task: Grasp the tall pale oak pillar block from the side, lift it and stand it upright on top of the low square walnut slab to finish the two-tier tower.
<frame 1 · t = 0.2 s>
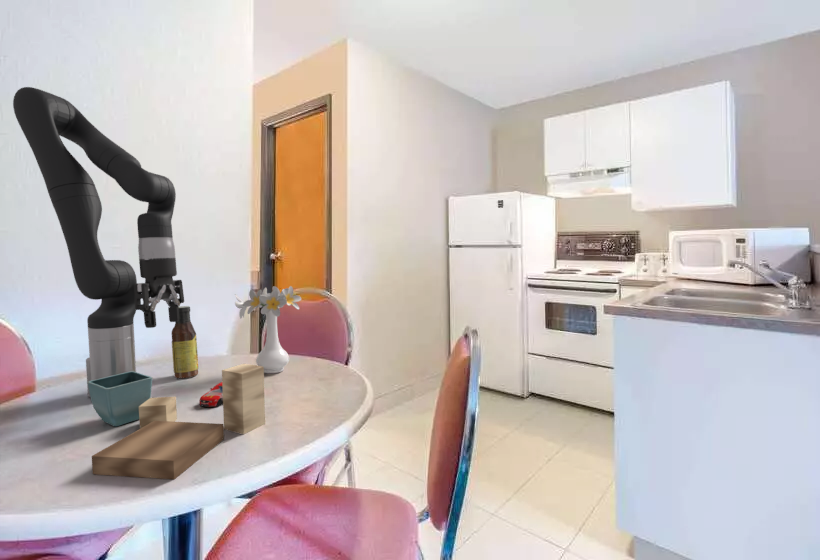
hand: (163, 324, 102), 18 cm above the table, tool pointing down, fingers open, 8 cm apart
walnut slab: (163, 455, 73), on the table
flower vase: (270, 372, 124), on the table
sauce bottle: (186, 376, 120), on the table
oak pillar: (244, 426, 85), on the table
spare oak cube: (159, 425, 87), on the table
flower pot: (122, 421, 89), on the table
race car: (224, 400, 102), on the table
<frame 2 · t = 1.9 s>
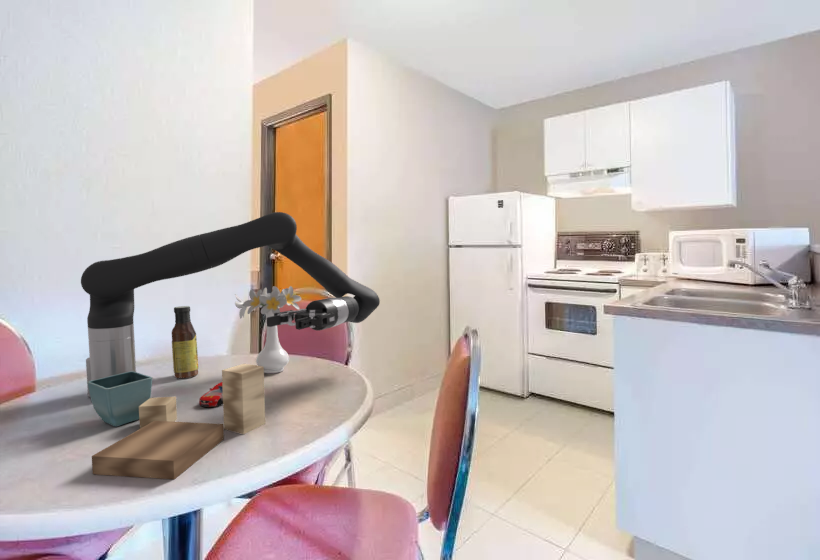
hand: (282, 323, 94), 19 cm above the table, tool horizontal, fingers open, 8 cm apart
nothing on the table moved.
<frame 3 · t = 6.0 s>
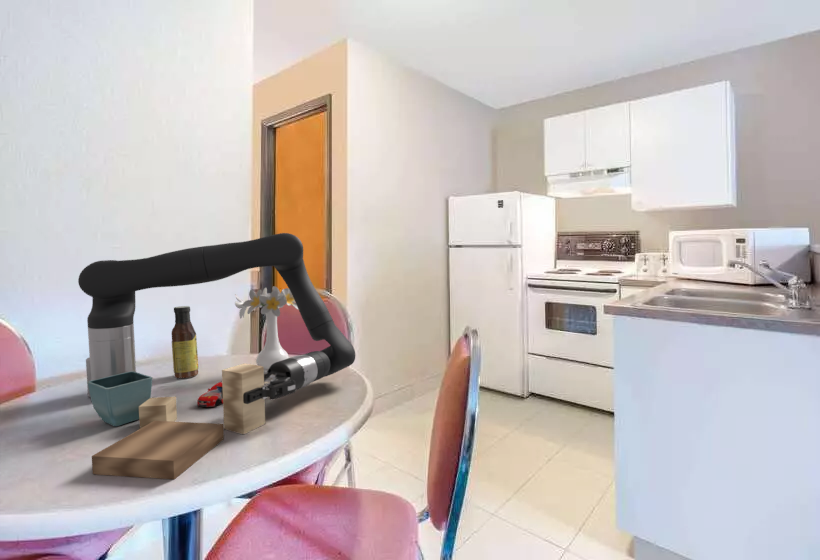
hand: (233, 396, 83), 7 cm above the table, tool horizontal, fingers closed on oak pillar, 5 cm apart
oak pillar: (244, 426, 85), on the table, touching gripper
everything else where it was.
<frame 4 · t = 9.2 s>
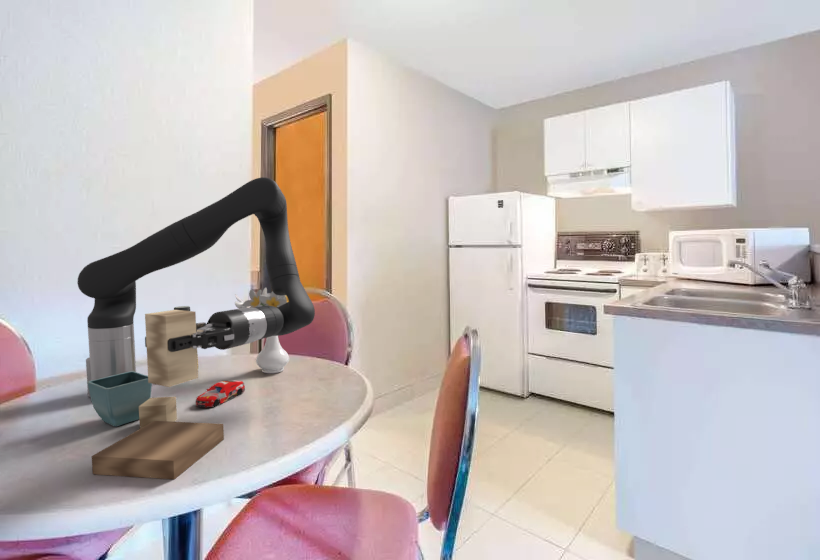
hand: (157, 343, 72), 20 cm above the table, tool horizontal, fingers closed on oak pillar, 5 cm apart
oak pillar: (173, 380, 74), point 13 cm above the table, touching gripper
everything else where it was.
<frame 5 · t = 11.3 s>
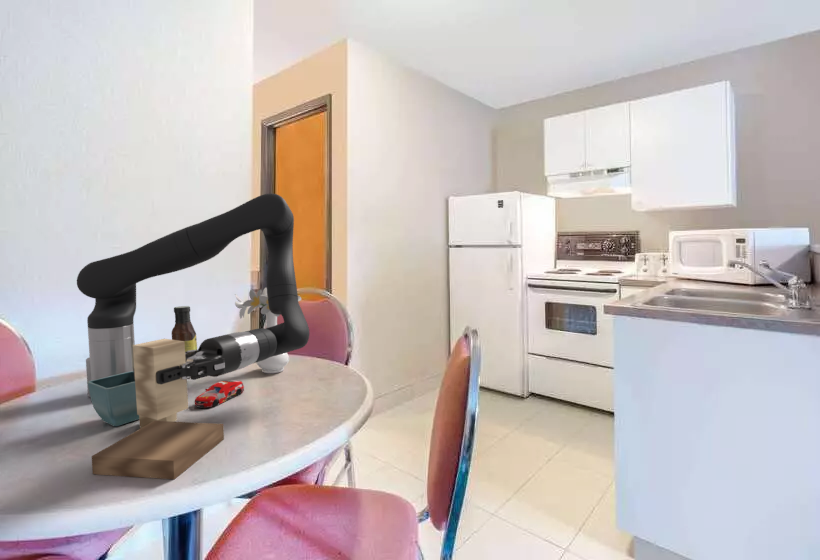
hand: (146, 375, 70), 15 cm above the table, tool horizontal, fingers closed on oak pillar, 5 cm apart
oak pillar: (163, 411, 73), point 8 cm above the table, touching gripper
when the fingers open (10 cm above the table, at t = 12.8 s): oak pillar stays where it is, resting on walnut slab.
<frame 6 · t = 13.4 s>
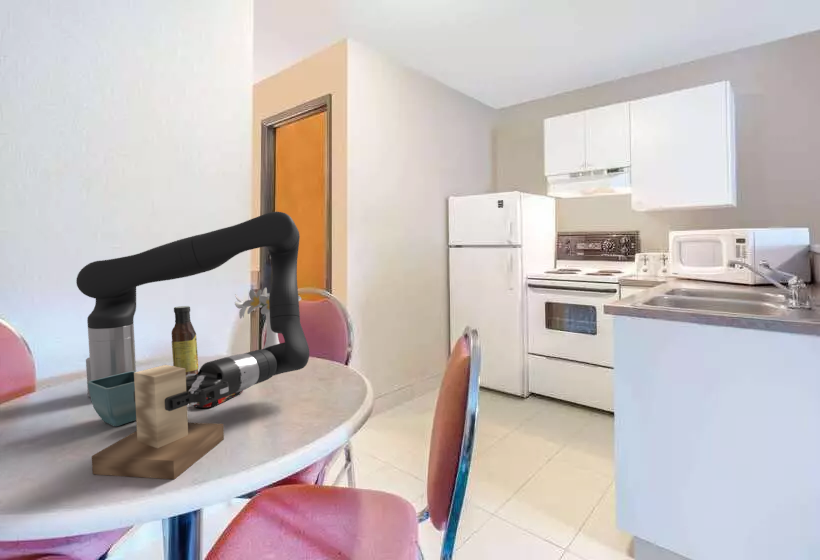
hand: (150, 400, 71), 10 cm above the table, tool horizontal, fingers open, 8 cm apart
oak pillar: (163, 438, 73), point 3 cm above the table, touching walnut slab
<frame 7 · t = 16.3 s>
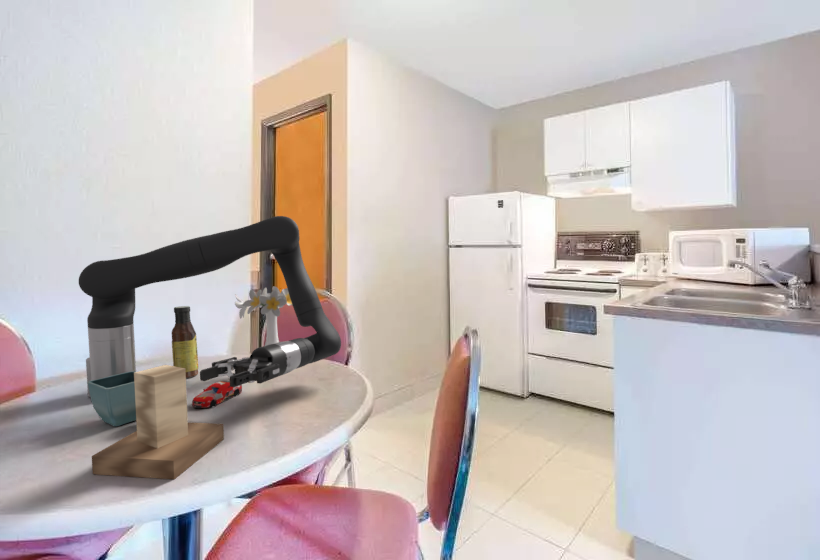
hand: (215, 379, 83), 10 cm above the table, tool horizontal, fingers open, 8 cm apart
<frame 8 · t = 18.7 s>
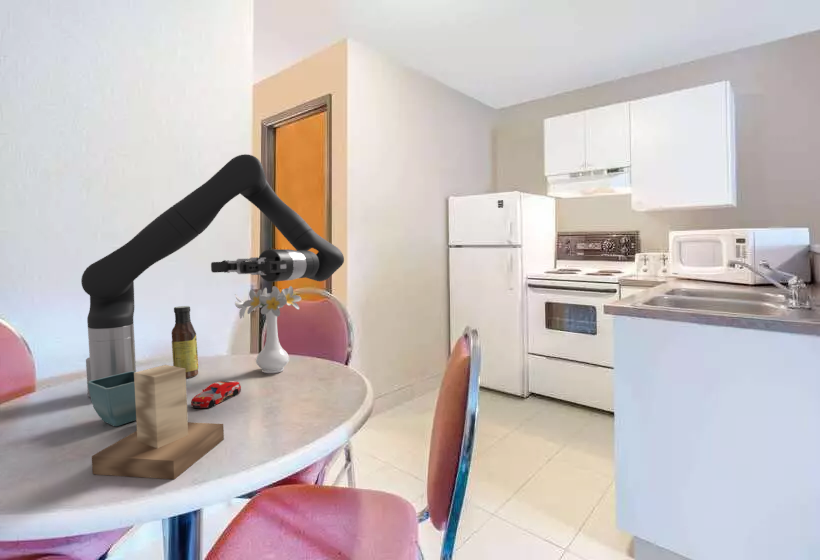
hand: (226, 267, 87), 32 cm above the table, tool horizontal, fingers open, 8 cm apart
at the end: oak pillar inside the target area on the walnut slab (0.1 cm from its centre), point 3.0 cm above the walnut slab's base; oak pillar tilted 0°; the gripper is holding nothing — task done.
